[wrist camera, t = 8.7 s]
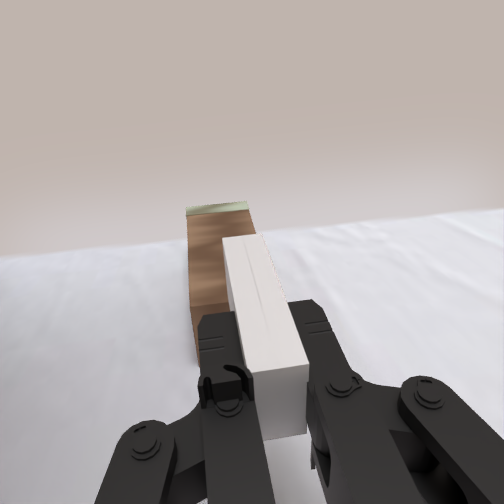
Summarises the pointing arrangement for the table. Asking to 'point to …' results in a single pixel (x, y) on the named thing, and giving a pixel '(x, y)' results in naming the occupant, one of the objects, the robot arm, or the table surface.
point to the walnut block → (211, 255)
